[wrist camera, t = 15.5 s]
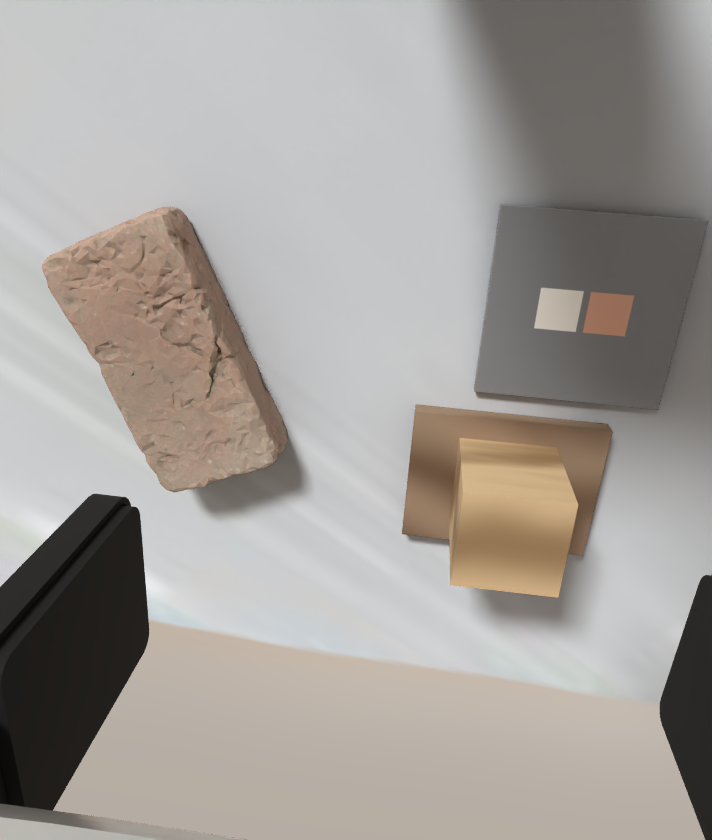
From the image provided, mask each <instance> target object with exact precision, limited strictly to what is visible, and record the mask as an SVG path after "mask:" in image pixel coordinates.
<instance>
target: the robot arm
mask: <svg viewBox="0 0 712 840" xmlns="http://www.w3.org/2000/svg"><path fill="white" fill-rule="evenodd" d="M148 637H149V622H148V609H147V597H146V584H145V572H144V559H143V546H142V534H141V521H140V513H139V510H138V508H136V507H131V504H130V502H129V499H127V498H126V497H118V496H110V495H101V494H92V495H91V496H89V497H88V498H87V499H86V500H85V501H84V502H83V503H82V504H81V505H80V506H79V507H78V508H77V509H76V510H75V511H74V512H73V513H72V514H71V515H70V516H69V517H68V518H67V520H66V521H65V522H64V523H63V524H62V525H61V526H60V527H59V528H58V529H57V530H56V531H55V532H54V533H53V534H52V535H51V536H50V537H49V538H48V539H47V540H46V541H45V542H44V543H43V544H42V545H41V546H40V547H39V548H38V549H37V550H36V551H35V552H34V553H33V554H32V555H31V556H30V557H29V558H28V559H27V560H26V561H25V562H24V563H23V564H22V565H21V566H20V567H19V568H18V569H17V570H16V571H15V573H14V574H13V575H12V576H11V577H10V578H9V579H8V580H7V581H6V582H5V583H4V584H3V585H2V586H1V587H0V840H246V839H239V838H233V837H226V836H220V835H214V834H207V833H200V832H194V831H187V830H181V829H175V828H168V827H162V826H155V825H149V824H142V823H136V822H130V821H123V820H116V819H109V818H103V817H95V816H88V815H81V814H73V813H66V812H58V811H53V809H54V807H55V805H56V804H57V802H58V800H59V799H60V797H61V795H62V793H63V792H64V790H65V788H66V786H67V785H68V783H69V781H70V780H71V778H72V776H73V774H74V773H75V771H76V769H77V767H78V766H79V764H80V762H81V760H82V758H83V757H84V755H85V754H86V752H87V750H88V748H89V747H90V745H91V743H92V741H93V740H94V738H95V736H96V735H97V733H98V731H99V729H100V728H101V726H102V724H103V722H104V720H105V719H106V717H107V715H108V714H109V712H110V710H111V708H112V707H113V705H114V703H115V702H116V700H117V698H118V696H119V694H120V693H121V691H122V689H123V688H124V686H125V684H126V683H127V681H128V679H129V677H130V676H131V674H132V672H133V670H134V668H135V667H136V665H137V663H138V662H139V660H140V658H141V657H142V655H143V653H144V651H145V648H146V646H147V642H148ZM660 718H661V722H662V726H663V728H664V731H665V734H666V736H667V739H668V741H669V744H670V747H671V750H672V752H673V755H674V757H675V760H676V763H677V765H678V768H679V771H680V773H681V776H682V779H683V781H684V784H685V787H686V789H687V792H688V795H689V797H690V800H691V803H692V805H693V808H694V810H695V813H696V816H697V819H698V821H699V824H700V826H701V829H702V832H703V834H704V837H705V839H706V840H712V576H710V575H705V576H703V577H702V578H701V580H700V583H699V585H698V588H697V591H696V594H695V597H694V600H693V603H692V606H691V609H690V612H689V615H688V618H687V621H686V624H685V628H684V631H683V634H682V637H681V640H680V643H679V646H678V649H677V652H676V655H675V658H674V661H673V664H672V667H671V670H670V673H669V676H668V679H667V682H666V685H665V688H664V691H663V694H662V697H661V701H660Z"/></svg>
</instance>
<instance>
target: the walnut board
mask: <svg viewBox="0 0 712 840" xmlns="http://www.w3.org/2000/svg"><path fill="white" fill-rule="evenodd" d="M611 436H612V430H611V429H610V427H609V425H608V424H601V423H591V422H581V421H571V420H562V419H552V418H542V417H532V416H522V415H513V414H503V413H493V412H483V411H474V410H464V409H454V408H444V407H434V406H425V405H416V407H415V417H414V426H413V435H412V445H411V454H410V464H409V473H408V482H407V492H406V501H405V510H404V520H403V529H402V534H406V535H414V536H423V537H431V538H439V539H448V540H449V516H450V508H451V500H452V493H453V485H454V477H455V469H456V462H457V454H458V446H459V438H465V439H475V440H486V441H496V442H506V443H516V444H527V445H537V446H547V447H557V449H558V452H559V454H560V457H561V460H562V462H563V465H564V468H565V470H566V473H567V476H568V478H569V481H570V484H571V486H572V489H573V492H574V494H575V497H576V500H577V502H578V509H577V514H576V518H575V523H574V528H573V532H572V537H571V541H570V546H569V551H568V554H574V555H583V553H584V549H585V545H586V541H587V536H588V532H589V528H590V524H591V520H592V516H593V511H594V507H595V503H596V499H597V495H598V491H599V486H600V482H601V478H602V474H603V470H604V466H605V461H606V457H607V453H608V449H609V445H610V441H611Z"/></svg>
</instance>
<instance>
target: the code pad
mask: <svg viewBox="0 0 712 840" xmlns="http://www.w3.org/2000/svg"><path fill="white" fill-rule="evenodd" d="M707 224H708V221H707V220H701V219H688V218H675V217H662V216H649V215H636V214H622V213H609V212H596V211H583V210H570V209H557V208H544V207H530V206H517V205H504V204H500V211H499V218H498V225H497V232H496V239H495V246H494V253H493V260H492V267H491V274H490V281H489V288H488V295H487V302H486V308H485V315H484V322H483V329H482V336H481V343H480V350H479V357H478V364H477V371H476V378H475V385H474V391H475V392H484V393H494V394H504V395H515V396H525V397H535V398H545V399H555V400H565V401H575V402H585V403H595V404H605V405H615V406H625V407H635V408H645V409H655V410H658V408H659V404H660V401H661V397H662V393H663V389H664V385H665V382H666V378H667V374H668V370H669V367H670V363H671V359H672V355H673V352H674V348H675V344H676V340H677V337H678V333H679V329H680V325H681V322H682V318H683V314H684V310H685V307H686V303H687V299H688V295H689V292H690V288H691V284H692V280H693V277H694V273H695V269H696V265H697V262H698V258H699V254H700V250H701V247H702V243H703V239H704V235H705V232H706V228H707Z"/></svg>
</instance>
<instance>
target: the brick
mask: <svg viewBox="0 0 712 840" xmlns="http://www.w3.org/2000/svg"><path fill="white" fill-rule="evenodd" d="M42 269H43V273H44V275H45V277H46V279H47V283H48V288H49V290H50V291H51V293H52V295H53V296H54V298H55V299H56V301H57V302H58V304H59V306H60V307H61V309H62V311H63V312H64V314H65V316H66V317H67V319H68V320H69V322H70V323H71V324H72V326H73V327H74V329H75V330H76V332H77V333H78V335H79V336H80V338H81V339H82V341H83V342H84V343H85V344H86V346H87V349H88V351H89V353H90V354H91V355H92V357H93V358H94V359H95V360H96V361H97V362H98V363H99V365H100V368H101V373H102V375H103V377H104V379H105V381H106V384H107V386H108V388H109V390H110V392H111V394H112V396H113V398H114V400H115V402H116V404H117V406H118V408H119V409H120V411H121V413H122V415H123V417H124V419H125V421H126V423H127V425H128V427H129V429H130V431H131V432H132V434H133V437H134V439H135V441H136V443H137V445H138V447H139V448H140V450H141V451H142V452H143V453H144V454H145V455H146V461H147V463H148V464H149V466H150V468H151V469H152V470H153V471H154V472H155V473H156V474H157V477H158V479H159V482H160V484H161V485H162V486H163V487H164V488H165V489H166V490H169V491H172V492H178V491H183V490H187V489H194V488H198V487H205V486H207V485H208V484H210V483H211V482H214V481H218V480H220V479H225V478H227V477H230V476H233V475H236V474H243V473H251V472H253V471H255V470H258V469H261V468H266V467H268V466H270V465H272V464H273V463H274V462H275V461H276V460H277V458H278V456H279V454H280V453H281V452H283V451H284V447H285V445H286V444H287V441H288V437H287V430H286V428H285V427H284V424H283V422H282V417H281V415H280V413H279V411H278V409H277V407H276V405H275V403H274V401H273V399H272V398H271V396H270V394H269V393H268V391H267V390H266V389H265V388H264V387H263V383H262V380H261V377H260V373H259V370H258V367H257V364H256V362H255V360H254V359H253V357H252V355H251V353H250V352H249V350H248V349H247V347H246V344H245V341H244V337H243V334H242V332H241V330H240V328H239V326H238V324H237V322H236V320H235V317H234V315H233V313H232V311H231V310H230V308H229V307H228V306H227V304H228V302H227V300H226V297H225V295H224V293H223V291H222V289H221V286H220V284H219V283H218V281H217V279H216V276H215V274H214V272H213V270H212V268H211V266H210V263H209V261H208V259H207V257H206V254H205V253H204V251H203V249H202V248H201V246H200V244H199V242H198V239H197V237H196V235H195V233H194V230H193V227H192V225H191V224H190V222H189V220H188V218H187V216H186V215H185V214H184V213H183V212H182V211H181V210H180V209H178V208H175V207H162V208H159V209H155V210H154V211H151V212H148V213H145V214H143V215H141V216H139V217H137V218H135V219H132V220H129V221H126V222H124V223H121V224H119V225H117V226H115V227H113V228H111V229H109V230H106V231H104V232H101V233H99V234H96V235H94V236H91V237H89V238H86V239H84V240H82V241H80V242H78V243H76V244H75V245H73V246H71V247H68V248H66V249H64V250H62V251H60V252H58V253H55V254H53V255H51V256H49V257H48V258H47V259H46V260H45V261H44V262H43V265H42Z"/></svg>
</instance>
